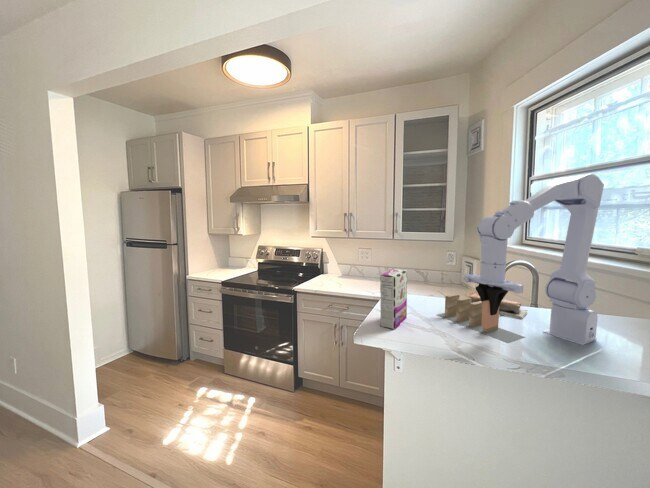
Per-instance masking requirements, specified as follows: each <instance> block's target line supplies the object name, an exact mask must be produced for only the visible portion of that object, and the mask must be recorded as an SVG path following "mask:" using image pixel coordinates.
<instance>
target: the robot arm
mask: <svg viewBox="0 0 650 488" xmlns="http://www.w3.org/2000/svg"><path fill="white" fill-rule="evenodd" d="M604 185H605V184H604V183H603V181H602V180H601V179H600V177H599V176H598V175H597V174H595V173H588V174H585V175H577V176H575V175H574V176H569V177H557V178H553V179H552V180H551V181H549V182H547V183H546V184H545V186H544V187H542V188H541V189H540V190H538V191H537V192H536V193H534V194H532V195H531V196H529V197H528V198H527V199H526V200H521V199H519V200H512V201H510V202H509V205H508V206H506V207H504V208H502V209H501V210H496V211H495V212H494V213H495V214H494V215H492V216H489V215H488V216H485V217H483V218H482V219H481V220H480V222H479V223H478V226H476V233H477V234H478V236H479V243H480V263H479V264H480V266H479V267H480V268H479V274H478V275H477V274H473V273H469V274H465V275H464V281H465V282H467V283H473V284H478V286H475V291H476V292H477V294H478V295H479V296H480V299H481V301H486V300H489V302H490V315H496V314H497V311H498V308H499V305H500V303H501V301H502V300H503V299H504V298H505V297H506V295H507V294H508V293H509V292H512V293H514V294H517V295H519V294H523V293H524V284H520V283H517V282H514V281H510V280H507V279H506V268H507V267H506V266H507V251H508V250H507V249H508V239H510V238H511V237H512V236H513V235H514V233H515V230H516V229H517V228H519V227H520V226H522V225H523V224H525V223H527V222H529V221H530V220H532V218H534V215H535V212H536V211H537V210H540V209H541V208H543V207H545V206H546V205H549V204H550V203H552V202H555V203H557V204H558V205H560V206H561V207H563V208H564V209H567V210H568V212H569V213H570V218H569V220H568V226H567V231H566V232H567V233H566V238H565V241H564V242H565V243H564V248H563V252H562V257H561V263H560V268H559V269H557V270H554V271H553V272H551V273H550V276H549V279H548V281H547V282H546V284H545V287H544V291H545V295H546V296H547V297H548V299H549V302H551V309H550V310H551V311H550V321H549V322H550V323H549V328H547V329H544V330H542V332H543V334H548V335H551V336H553V337H555V338H560V339H563V340H566V341H569V342H572V343H575V344H578V345H580V346H581V345H582V346H585V345H586V344H589V343H591V342H594V341H596V340H597V331H598V330H597V327H598V313H597V312H596V311H595V310H592V309H589V307H591V306H592V305H593V304H594V302H595V301H596V299H597V294H596V289H595V288H596V287H595V286H596V280H594V279H593V278H592V277H591V276H590V275H589V274H588V273H587V266H588V262H589V258H590V257H589V256H590V251H591V249H592V248H591V247H592V241H593V237H594V233H595V227H596V223H597V217H598V212H599V208H600V206H601V201H602V197H603V191H604Z"/></svg>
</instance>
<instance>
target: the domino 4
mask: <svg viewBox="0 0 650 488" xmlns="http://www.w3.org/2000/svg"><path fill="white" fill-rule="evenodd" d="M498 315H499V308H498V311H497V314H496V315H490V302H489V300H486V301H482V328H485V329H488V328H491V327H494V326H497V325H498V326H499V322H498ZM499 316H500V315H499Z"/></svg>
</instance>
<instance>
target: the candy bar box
mask: <svg viewBox="0 0 650 488" xmlns="http://www.w3.org/2000/svg"><path fill="white" fill-rule="evenodd" d="M407 275H408V270H407V269H401V268H392V269H391V270H389V271H386V272H384V273H382V274H380V276H379V277H380V285H379V286H380V292H379V293H380V327H381V328H386V329H390V330H396V329H397V328H398V327H399V326H400V325H401V324H402V323H403V322H404V321H405V320H406V319H407V309H408V305H407V304H408V303H407V299H408V297H407V296H408V283H407V282H408V276H407Z"/></svg>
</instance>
